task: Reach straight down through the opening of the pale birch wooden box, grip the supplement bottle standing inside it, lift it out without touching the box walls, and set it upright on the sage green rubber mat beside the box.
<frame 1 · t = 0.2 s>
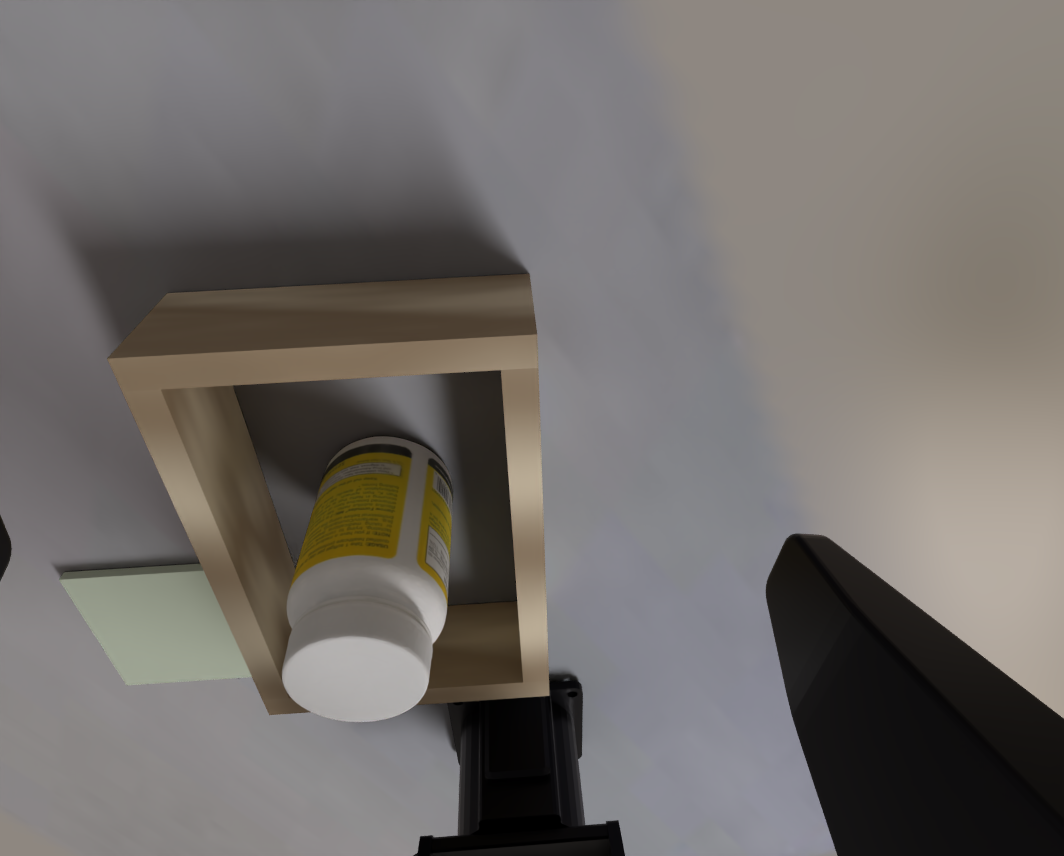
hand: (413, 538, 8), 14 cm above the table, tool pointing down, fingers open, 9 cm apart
sage mat: (182, 623, 29), on the table
wooden box: (390, 484, 25), on the table
supplement bottle: (390, 480, 26), resting in wooden box
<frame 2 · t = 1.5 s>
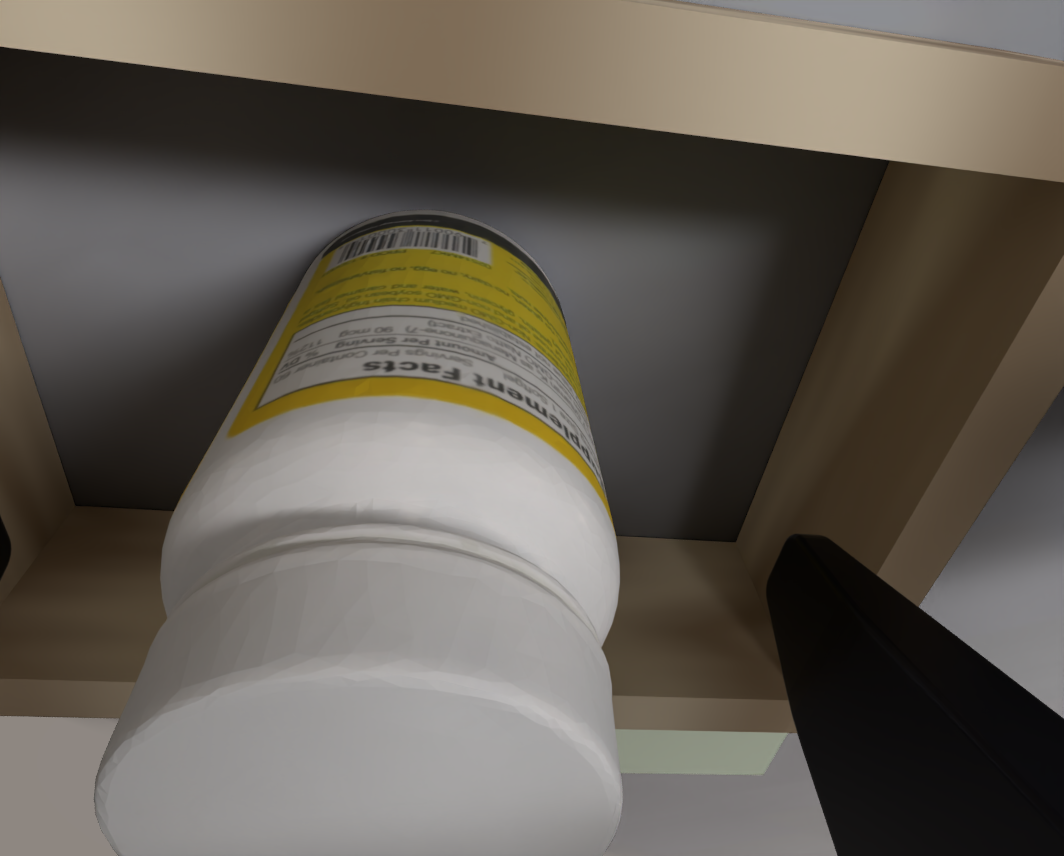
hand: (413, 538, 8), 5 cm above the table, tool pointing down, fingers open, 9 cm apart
sage mat: (676, 689, 18), on the table
wooden box: (433, 337, 12), on the table
supplement bottle: (434, 331, 12), resting in wooden box
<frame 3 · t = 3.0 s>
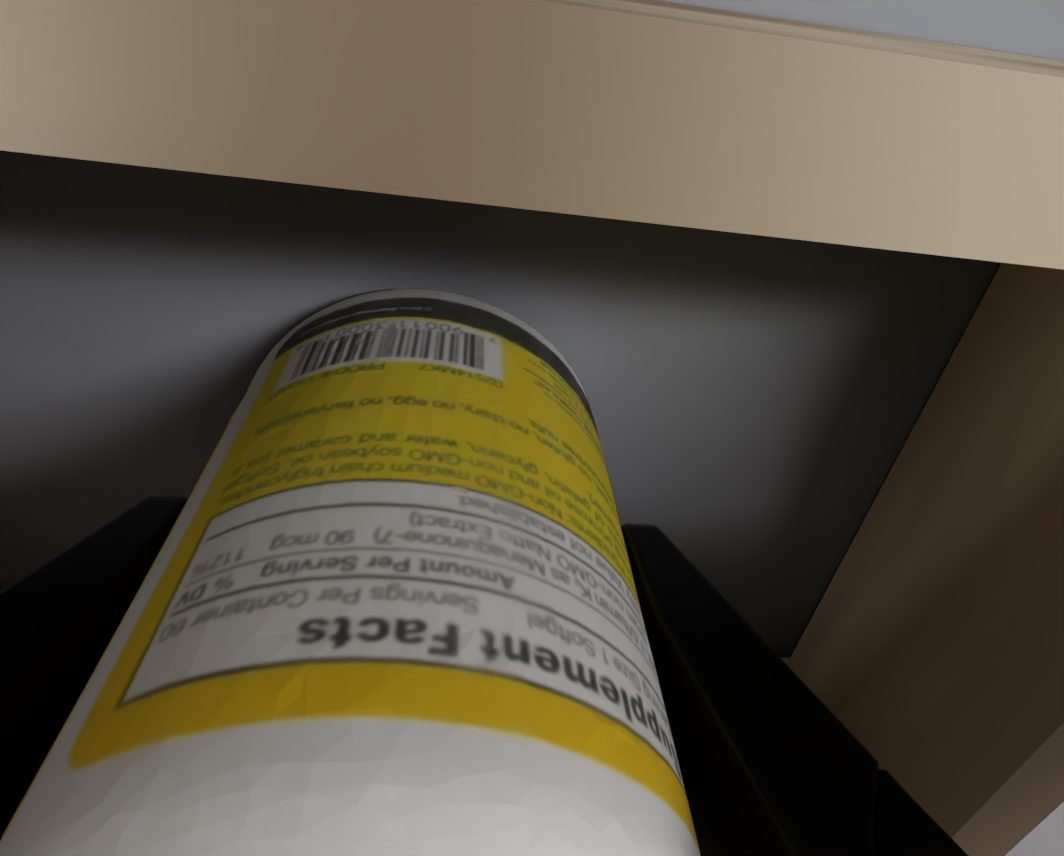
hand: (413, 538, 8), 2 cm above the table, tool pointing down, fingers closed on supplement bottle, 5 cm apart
wooden box: (426, 437, 10), on the table
supplement bottle: (427, 429, 10), resting in wooden box, touching gripper
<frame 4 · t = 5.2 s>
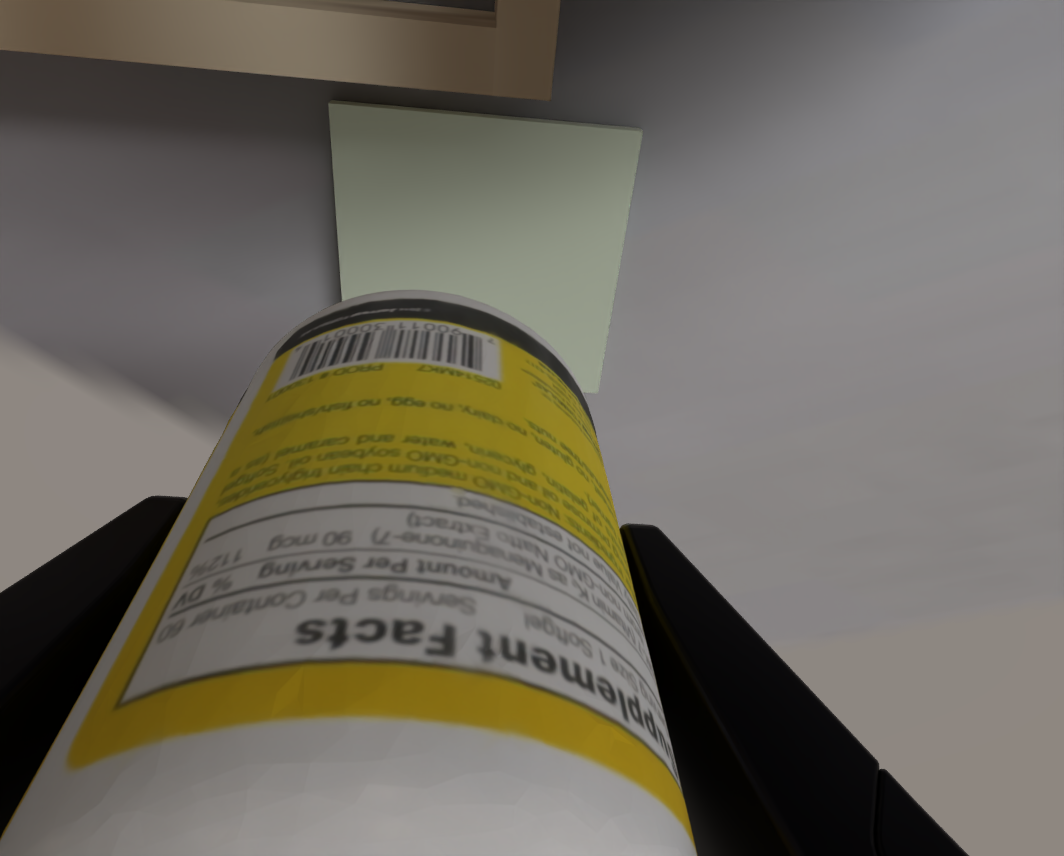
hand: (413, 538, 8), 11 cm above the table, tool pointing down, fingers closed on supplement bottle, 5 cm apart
sage mat: (481, 261, 17), on the table
supplement bottle: (426, 429, 10), point 9 cm above the table, touching gripper
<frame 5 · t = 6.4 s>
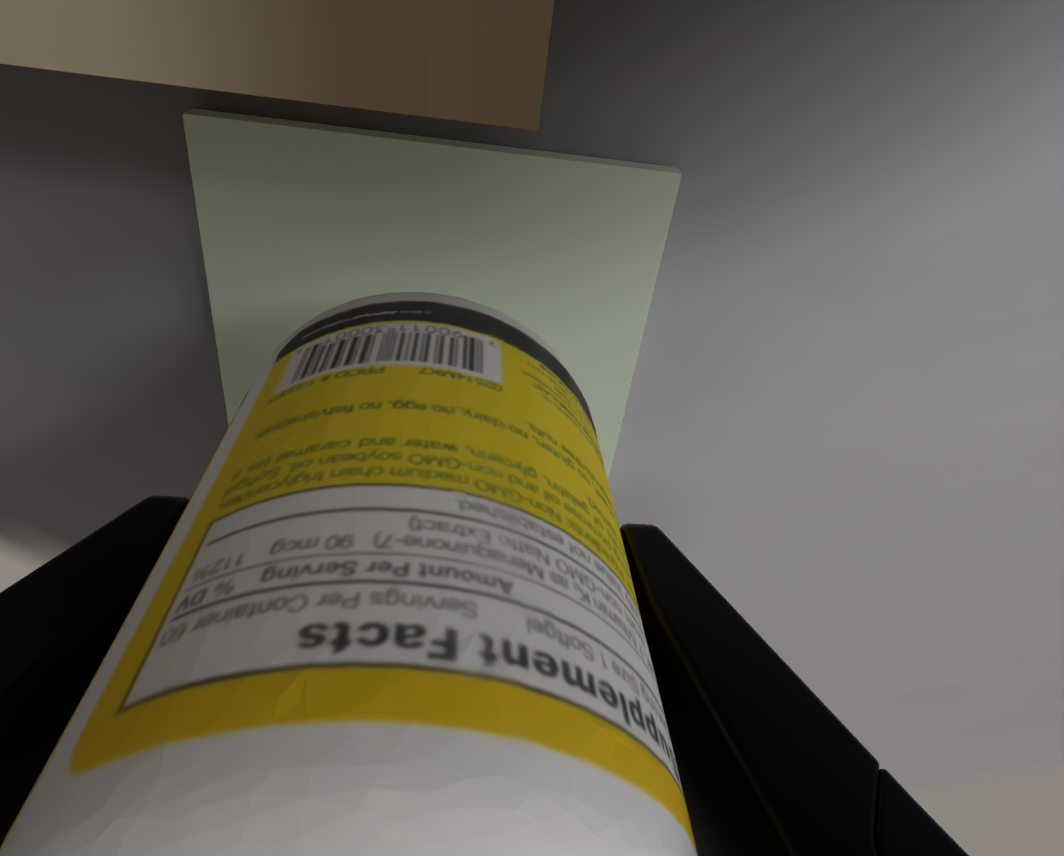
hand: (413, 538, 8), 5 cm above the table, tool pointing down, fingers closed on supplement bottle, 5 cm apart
sage mat: (433, 351, 12), on the table
supplement bottle: (427, 431, 10), point 3 cm above the table, touching gripper
when the fingers open (4 cm above the table, at t = 7.3 s): supplement bottle drops 1 cm, resting on sage mat.
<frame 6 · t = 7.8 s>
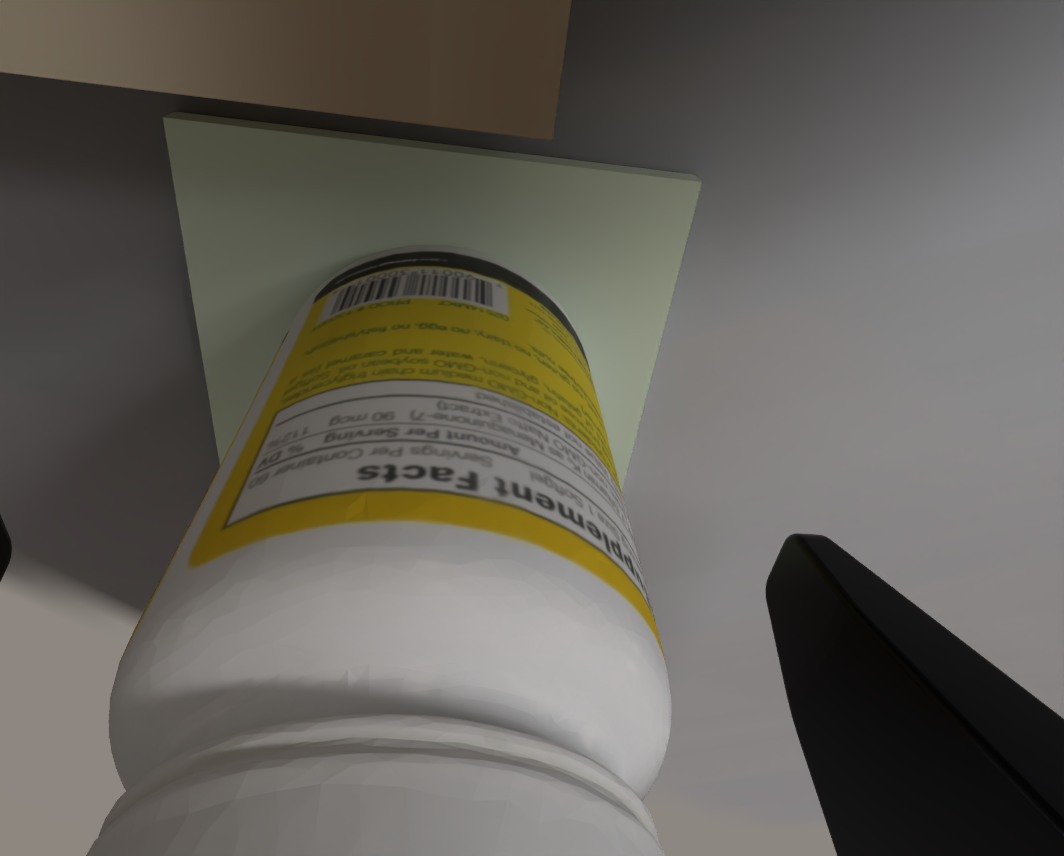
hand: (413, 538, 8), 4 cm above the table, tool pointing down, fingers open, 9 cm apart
sage mat: (434, 368, 11), on the table
supplement bottle: (441, 375, 11), resting on sage mat
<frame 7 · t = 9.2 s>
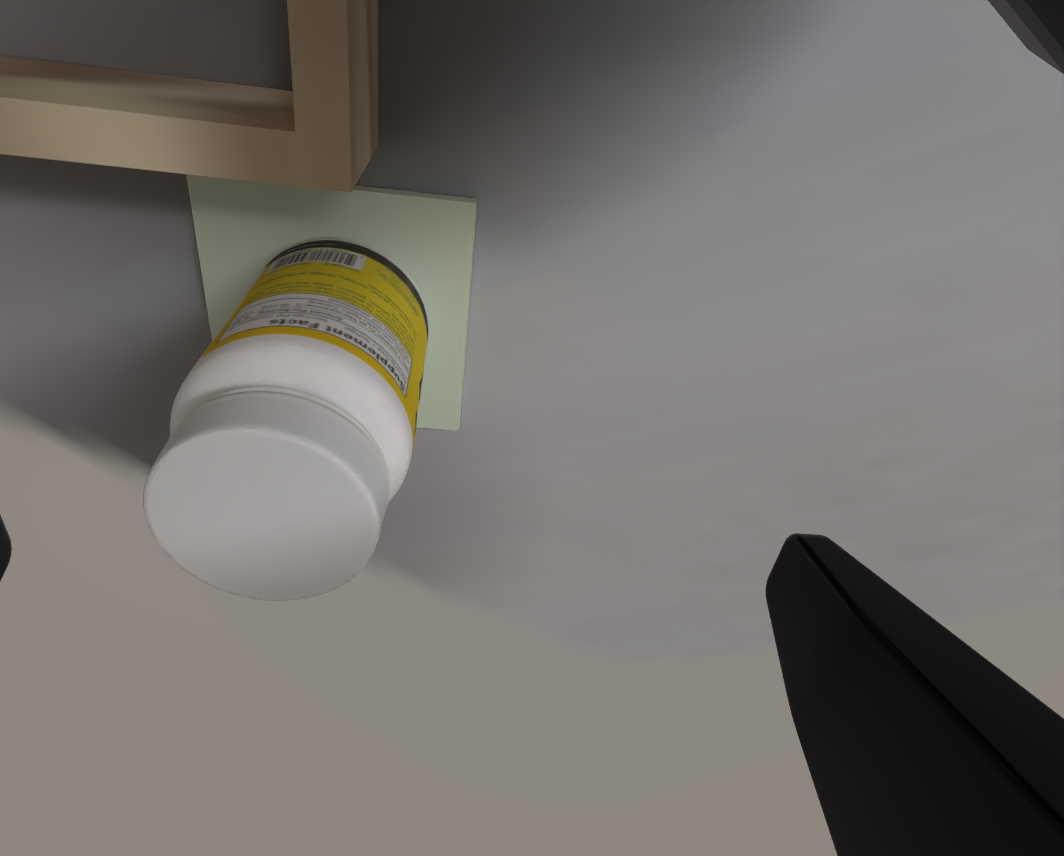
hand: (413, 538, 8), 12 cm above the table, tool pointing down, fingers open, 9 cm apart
sage mat: (342, 311, 19), on the table
supplement bottle: (345, 314, 19), resting on sage mat
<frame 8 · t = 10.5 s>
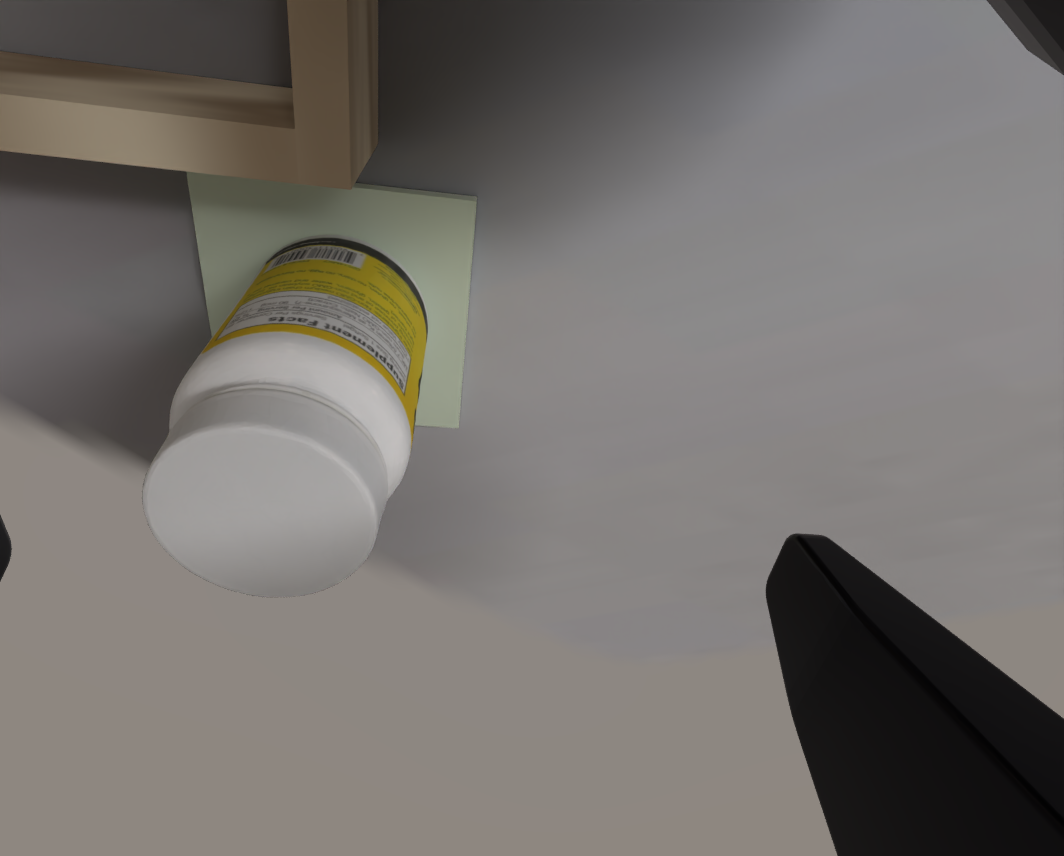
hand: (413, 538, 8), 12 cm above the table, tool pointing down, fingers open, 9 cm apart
sage mat: (341, 308, 19), on the table
supplement bottle: (345, 311, 19), resting on sage mat
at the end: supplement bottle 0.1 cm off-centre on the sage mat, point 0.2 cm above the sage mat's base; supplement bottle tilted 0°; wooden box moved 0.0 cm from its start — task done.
